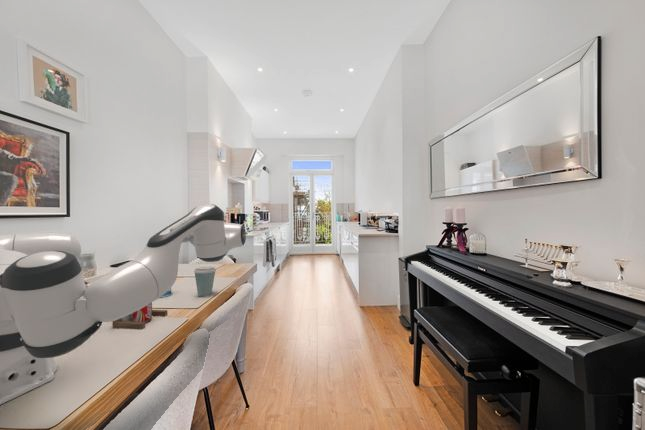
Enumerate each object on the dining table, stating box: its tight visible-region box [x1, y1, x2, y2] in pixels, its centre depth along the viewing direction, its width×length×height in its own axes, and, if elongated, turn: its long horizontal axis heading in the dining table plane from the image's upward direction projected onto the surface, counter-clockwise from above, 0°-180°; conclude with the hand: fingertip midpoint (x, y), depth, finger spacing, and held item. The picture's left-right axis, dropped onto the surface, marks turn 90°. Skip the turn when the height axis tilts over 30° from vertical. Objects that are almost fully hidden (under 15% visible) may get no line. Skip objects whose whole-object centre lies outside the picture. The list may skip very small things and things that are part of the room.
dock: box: [111, 309, 168, 330], centre depth 113 cm, size 14×12×11 cm
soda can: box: [131, 302, 153, 324], centre depth 112 cm, size 7×7×12 cm
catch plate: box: [122, 314, 132, 322], centre depth 113 cm, size 10×1×8 cm, turn 173°
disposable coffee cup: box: [193, 266, 217, 297], centre depth 147 cm, size 11×11×15 cm
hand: (166, 235), depth 101 cm, fingers closed
